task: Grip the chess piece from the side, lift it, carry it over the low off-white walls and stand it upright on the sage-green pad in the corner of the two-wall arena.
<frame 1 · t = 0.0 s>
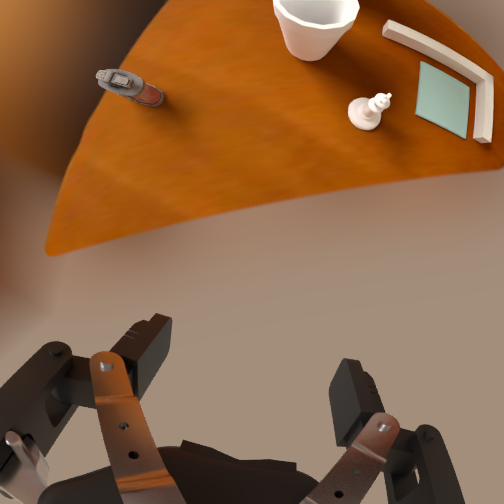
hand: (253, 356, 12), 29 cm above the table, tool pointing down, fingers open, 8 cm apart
lighter: (143, 94, 37), on the table
foam cup: (307, 44, 33), on the table
arena: (444, 99, 32), on the table
chess piece: (363, 114, 35), on the table
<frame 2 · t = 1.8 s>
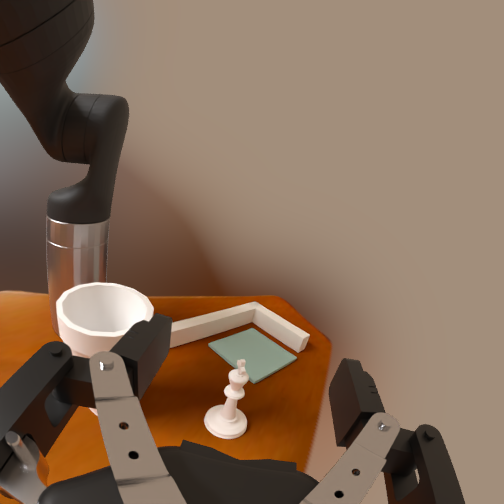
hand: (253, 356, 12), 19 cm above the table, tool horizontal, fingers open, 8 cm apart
foam cup: (111, 400, 27), on the table
arena: (253, 353, 43), on the table
chess piece: (225, 423, 28), on the table
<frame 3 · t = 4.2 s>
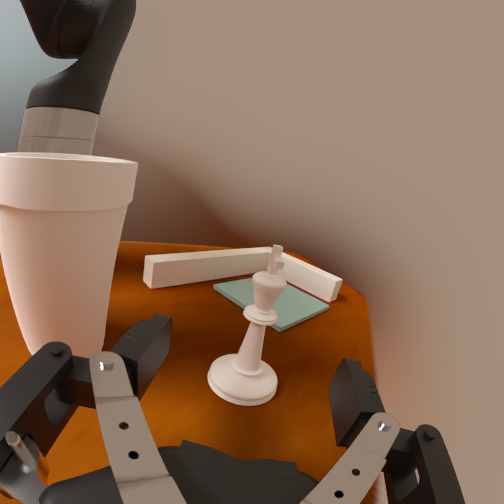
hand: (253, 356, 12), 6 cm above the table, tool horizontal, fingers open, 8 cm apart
foam cup: (64, 343, 17), on the table
arena: (272, 299, 33), on the table
chess piece: (241, 383, 19), on the table
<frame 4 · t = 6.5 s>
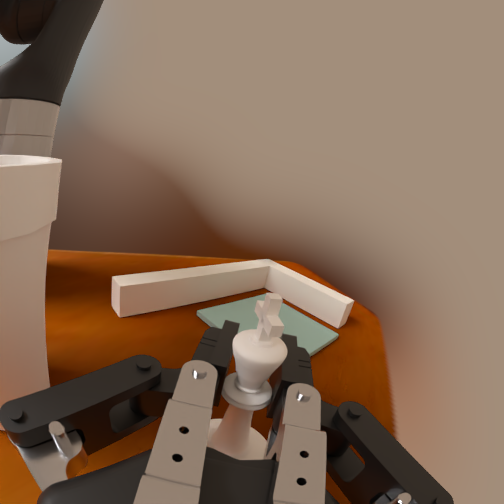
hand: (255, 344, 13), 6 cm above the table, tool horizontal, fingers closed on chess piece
foam cup: (9, 393, 10), on the table
arena: (270, 328, 27), on the table
chess piece: (224, 458, 12), on the table, touching gripper
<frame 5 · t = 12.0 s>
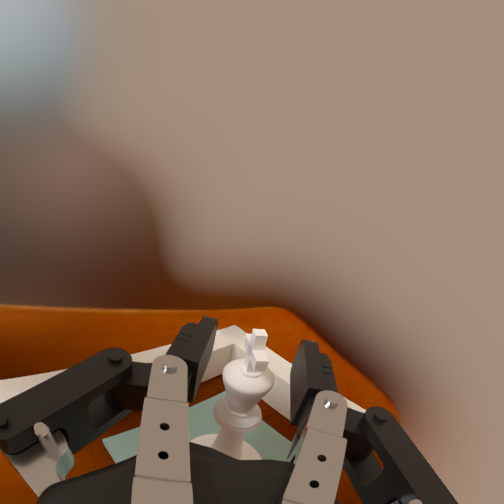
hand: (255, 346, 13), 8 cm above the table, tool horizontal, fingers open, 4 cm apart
arena: (220, 472, 13), on the table
chess piece: (219, 471, 12), resting on arena
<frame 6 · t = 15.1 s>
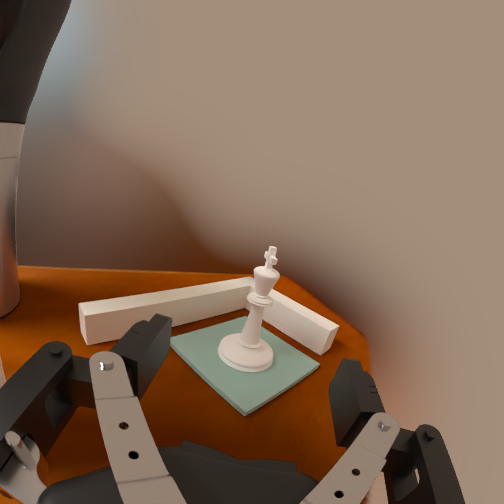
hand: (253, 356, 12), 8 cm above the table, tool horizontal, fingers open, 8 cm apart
arena: (244, 358, 24), on the table
chess piece: (244, 356, 24), resting on arena
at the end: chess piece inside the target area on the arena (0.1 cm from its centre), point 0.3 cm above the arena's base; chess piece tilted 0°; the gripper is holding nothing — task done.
